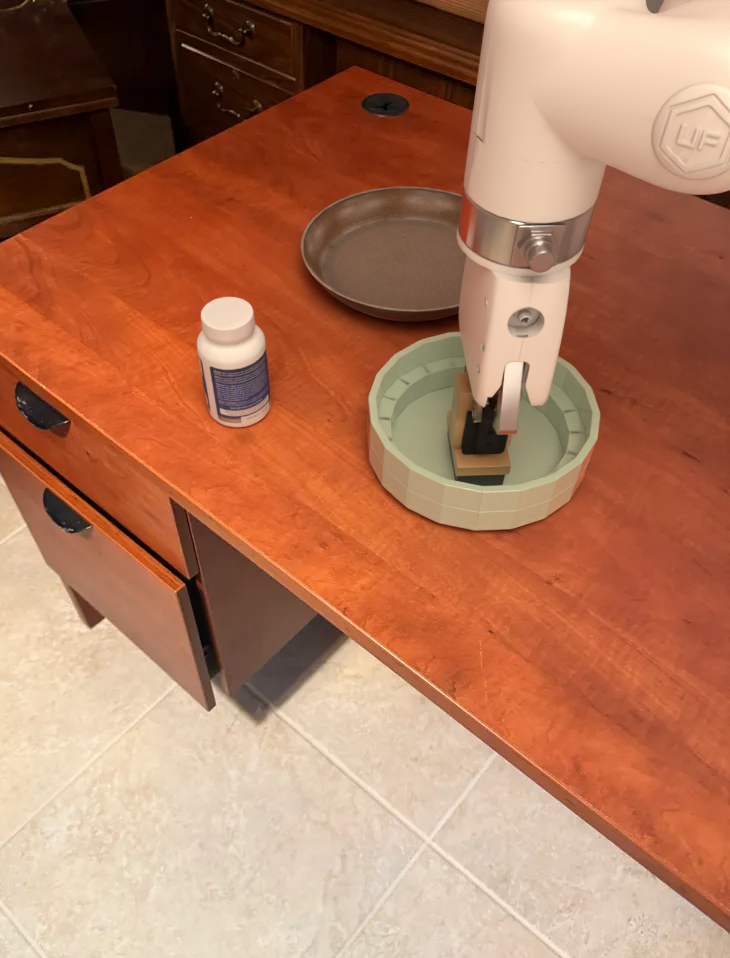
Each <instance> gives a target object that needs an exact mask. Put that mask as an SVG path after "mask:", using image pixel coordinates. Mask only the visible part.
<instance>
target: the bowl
mask: <svg viewBox="0 0 730 958" xmlns="http://www.w3.org/2000/svg"><path fill="white" fill-rule="evenodd" d="M464 367H465V356H464V351H463V345H462V340H461V334H460V331H451V332H450V331H449V332H444V333H441V334H436V335H434V336H429V337H426V338H422V339H419V340H417V341H416V342H414V343H412V344H410V345H408V346H407V347H404V348H403V349H401V350H399V351H397V352H396V353H394V354H393V355H392V356H391V357H390V358H389V360H388V361H386V363H385V364H384V365H383V366H382V367H381V368H380V369H379V371H377V372H376V374H375V377H374V378H373V379H374V380H373V383H372V385H371V387H370V391H369V393H368V397H367V417H366V442H367V443H366V444H367V454H368V455H367V456H368V462H369V464H370V466H371V467H372V469H373V472H374V473H375V475H376V477H377V479H378V481H379V482H380V484H381V487H383V488H384V489H385V490H386V491H387V492H389V493H390V495H392V496H393V497H394V498H395V499H396V500H397V501H398V502H399V503H401V504H402V505H403V506H404V507H405V508H406V509H409V510H410V511H413V512H415V513H416V514H419V515H420V516H423V517H424V518H427V519H429V520H431V521H433V522H435V523H438V524H440V525H446V526H450V527H456V528H460V529H465V530H469V531H475V532H477V531H498V530H499V531H501V530H513V529H516V528H519V527H523V526H525V525H529V524H532V523H535V522H539V521H543V520H544V519H546V518H548V516H550V515H551V514H553V513H554V512H555V511H558V509H560V508H561V507H562V506H564V505H565V504H567V503H568V502H569V501H570V500H572V499H571V498H572V497H573V496H574V494H575V492H576V491H577V490H578V488H579V486H580V485H581V483H582V481H583V480H584V478H585V475H586V472H587V470H588V467H589V464H590V461H591V458H592V455H593V452H594V449H595V447H596V444H597V441H598V439H599V438H598V437H599V430H600V422H601V411H600V408H599V405H598V402H597V399H596V395H595V393H594V390H593V388H592V386H591V384H589V382H587V380H586V378H584V376H583V375H582V374H581V373H580V372H579V371H578V370H577V368H576V367H575V366H574V365H573V364H572V363H570V362H569V361H567V360H565V359H564V358H563V357H561V356H560V355H558V358H557V363H556V367H555V372H554V376H553V381H552V385H551V389H550V393H549V397H548V399H547V401H546V402H545V403H544V404H543V405H542V406H531V404H530V400H529V397H528V393H527V390H526V386H525V383H522V390H523V393H522V397H521V402H520V409H519V419H518V429H517V433H516V434H513V435H512V439H511V443H510V446H509V447H507V450H508V454H509V459H510V463H511V468H510V472H509V474H505V477H504V482H503V485H497V486H479V485H474V484H469V483H464V482H459V481H455V477H454V471H453V465H452V459H451V453H450V447H449V441H448V436H447V433H448V426H447V420H446V419H447V412H448V411H450V410H451V406H452V399H453V393H454V386H455V380H456V373H464Z"/></svg>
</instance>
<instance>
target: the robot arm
mask: <svg viewBox="0 0 730 958" xmlns="http://www.w3.org/2000/svg"><path fill="white" fill-rule="evenodd" d="M486 8H487V9H486V14H485V19H484V27H483V34H482V40H481V41H482V42H481V48H480V55H479V63H478V70H477V79H476V86H475V87H476V88H475V92H474V93H475V94H474V100H473V102H474V103H473V108H472V114H471V115H472V116H471V122H470V130H469V131H470V132H469V139H468V144H467V145H468V146H467V153H466V162H465V168H464V175H463V184H462V192H461V195H462V198H461V206H460V213H459V220H458V226H457V241H458V244H459V246H460V248H461V250H462V251H463V252H464V253H465V254H466V255H467V256H466V261H465V267H464V273H463V279H462V286H461V293H460V302H459V313H458V326H459V332H460V334H461V340H462V345H463V351H464V356H465V367H464V373H465V372H468V376H469V381H470V385H471V390H472V394H473V397H474V403H473V408H472V411H470V412H467V416H466V422H465V427H464V433H463V438H462V444H461V450H462V453H463V454H465V455H476V454H501V453H503V452H504V451H505V447H506V443H507V439H508V434H516V433H517V429H518V419H519V409H520V398H521V388H522V383H525V386H526V390H527V393H528V397H529V400H530V404H531V406H542V405H543V404H544V403H545V402H546V401H547V399H548V397H549V393H550V389H551V385H552V381H553V376H554V372H555V367H556V363H557V358H558V356H559V354H560V349H561V343H562V340H563V339H562V338H563V335H564V329H565V323H566V317H567V310H568V304H569V298H570V297H569V295H570V287H571V274H572V273H571V266H572V265H573V264H575V263H576V262H577V261H578V260H579V258H580V257H581V255H582V253H583V251H584V248H585V244H586V240H587V237H588V233H589V230H590V226H591V223H592V218H593V215H594V211H595V208H596V204H597V200H598V197H599V194H600V189H601V187H602V182H603V179H604V175H605V173H606V168H607V166H609V167H611V168H614V169H616V170H619V171H621V172H622V173H624V174H627V175H629V176H631V177H633V178H636V179H639V180H640V181H643V182H646V183H648V184H651V185H653V186H656V187H658V188H661V189H665V190H668V191H671V192H674V193H675V192H676V193H680V194H685V195H692V196H693V195H694V196H695V195H696V196H699V195H701V196H703V195H704V196H706V195H707V196H709V195H716V194H722V193H725V192H728V191H730V0H663V2H662V4H661V6H660V7H659V10H658V11H657V12H655V13H653V12H651V10H650V9H648V6H647V0H488V3H487V7H486ZM494 397H498V399H497V405H486V404H489V399H488V398H494Z"/></svg>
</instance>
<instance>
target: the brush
mask: <svg viewBox="0 0 730 958" xmlns="http://www.w3.org/2000/svg"><path fill="white" fill-rule="evenodd" d="M522 393H523V390H522V388H521V397H522ZM488 399H489V404H486V405H497V399H498V397H494V398H488ZM520 402H521V398H520ZM473 403H474V397H473V394H472V390H471V385H470V381H469V376H468V372H465V373H456V380H455V386H454V393H453V399H452V406H451V410H450V411H448V412H447V419H446V420H447V426H448V433H447V436H448V441H449V447H450V453H451V459H452V465H453V471H454V477H455V481H459V482H464V483H469V484H474V485H479V486H497V485H503V482H504V477H505V474H509V472H510V468H511V463H510V459H509V454H508V450H507V447H509V446H510V443H511V439H512V435H513V434H508V439H507V443H506V447H505V451H504V452H503V453H501V454H476V455H465V454H463V453H462V450H461V444H462V438H463V433H464V427H465V422H466V416H467V412H470V411H472V408H473Z"/></svg>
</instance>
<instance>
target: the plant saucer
mask: <svg viewBox="0 0 730 958" xmlns="http://www.w3.org/2000/svg"><path fill="white" fill-rule="evenodd" d="M461 198H462V194H459V193H456V192H453V191H448V190H443V189H438V188H432V187H425V186H423V187H422V186H388V187H379V188H372V189H368V190H365V191H360V192H356V193H353V194H350V195H348V196H345V197H342V198H341V199H338V200H336V201H334V202H333V203H331V204H329V205H327V206H325V207H324V208H323V209H322V210H321V211H319V212H318V213H317V214H316V215H315V216H313V217H312V219H311V220H310V221H309V223H308V224H307V225H306V227H305V229H304V231H303V233H302V236H301V240H300V241H301V242H300V252H301V257H302V259H303V263H304V264H305V266H306V268H307V270H308V271H309V273H310V274H311V276H313V278H314V280H315V281H316V282H317V283H318V284H319V286H321V288H323V289H324V290H325V291H326V292H327V293H328V294H329V295H331V296H332V297H334V298H335V299H336V300H338V301H339V302H341V303H342V304H343V305H346V306H347V307H349V308H351V309H353V310H355V311H357V312H361V313H363V314H366V315H369V316H372V317H375V318H379V319H383V320H389V321H395V322H426V321H435V320H440V319H444V318H448V317H451V316H455V315H457V314H458V315H459V302H460V293H461V286H462V279H463V273H464V267H465V261H466V256H467V255H466V254H465V253H464V252H463V251H462V250H461V248H460V246H459V244H458V241H457V226H458V220H459V213H460V206H461Z"/></svg>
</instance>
